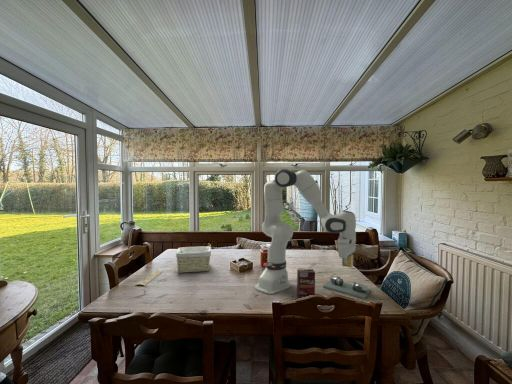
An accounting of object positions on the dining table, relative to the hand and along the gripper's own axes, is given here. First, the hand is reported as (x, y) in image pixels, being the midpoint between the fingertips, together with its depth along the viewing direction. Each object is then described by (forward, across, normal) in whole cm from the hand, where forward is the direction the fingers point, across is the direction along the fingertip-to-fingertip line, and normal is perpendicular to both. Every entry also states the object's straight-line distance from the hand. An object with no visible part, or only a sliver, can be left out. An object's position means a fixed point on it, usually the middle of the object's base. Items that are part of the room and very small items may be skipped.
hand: (347, 261), depth 137 cm
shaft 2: (+16, 0, +7) cm, 18 cm away
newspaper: (+16, +65, -107) cm, 126 cm away
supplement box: (+16, +28, -13) cm, 35 cm away
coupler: (+2, 0, 0) cm, 2 cm away
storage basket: (+16, +36, -98) cm, 106 cm away
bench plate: (+16, +1, 0) cm, 16 cm away
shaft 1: (+16, -1, -7) cm, 18 cm away
